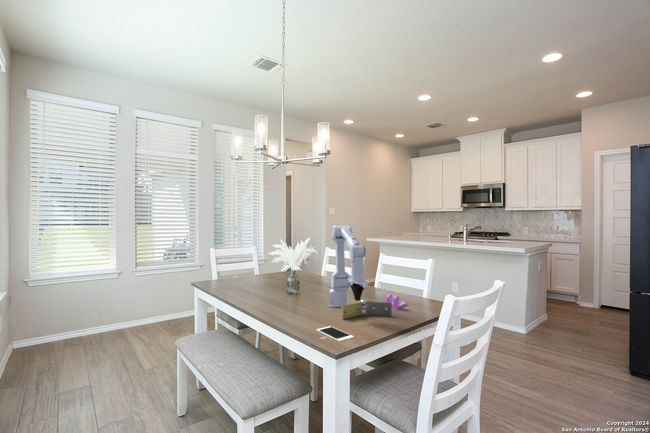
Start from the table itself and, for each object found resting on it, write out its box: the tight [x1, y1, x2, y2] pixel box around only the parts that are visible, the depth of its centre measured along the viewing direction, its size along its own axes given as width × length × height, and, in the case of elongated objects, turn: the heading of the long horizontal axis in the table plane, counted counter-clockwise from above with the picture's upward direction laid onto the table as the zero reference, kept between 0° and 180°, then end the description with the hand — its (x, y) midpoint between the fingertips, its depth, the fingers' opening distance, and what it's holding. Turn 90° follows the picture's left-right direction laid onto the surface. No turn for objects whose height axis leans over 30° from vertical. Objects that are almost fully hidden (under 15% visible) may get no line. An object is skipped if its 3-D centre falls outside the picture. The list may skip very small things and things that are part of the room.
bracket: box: [385, 293, 406, 311], centre depth 174 cm, size 13×6×7 cm, turn 139°
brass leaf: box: [341, 300, 367, 320], centre depth 155 cm, size 15×2×6 cm, turn 127°
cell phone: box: [315, 325, 355, 342], centre depth 133 cm, size 8×16×1 cm, turn 36°
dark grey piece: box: [360, 299, 393, 317], centre depth 157 cm, size 15×2×7 cm, turn 77°
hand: (357, 300), depth 149 cm, fingers closed
